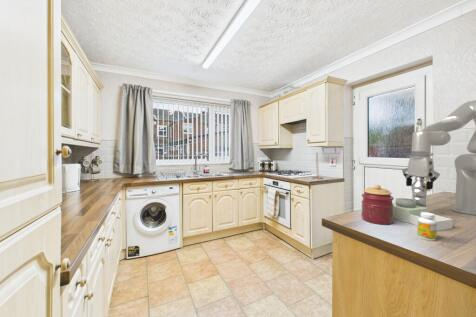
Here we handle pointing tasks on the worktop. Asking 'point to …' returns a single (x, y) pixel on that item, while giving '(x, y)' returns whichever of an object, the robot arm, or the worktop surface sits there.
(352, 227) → the worktop surface
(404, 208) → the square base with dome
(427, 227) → the supplement bottle
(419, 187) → the silver bottle
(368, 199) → the canister
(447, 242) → the worktop surface
